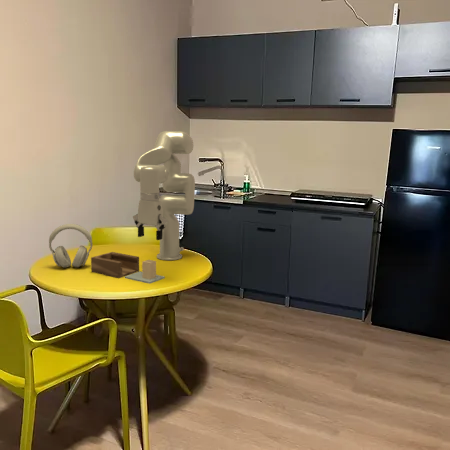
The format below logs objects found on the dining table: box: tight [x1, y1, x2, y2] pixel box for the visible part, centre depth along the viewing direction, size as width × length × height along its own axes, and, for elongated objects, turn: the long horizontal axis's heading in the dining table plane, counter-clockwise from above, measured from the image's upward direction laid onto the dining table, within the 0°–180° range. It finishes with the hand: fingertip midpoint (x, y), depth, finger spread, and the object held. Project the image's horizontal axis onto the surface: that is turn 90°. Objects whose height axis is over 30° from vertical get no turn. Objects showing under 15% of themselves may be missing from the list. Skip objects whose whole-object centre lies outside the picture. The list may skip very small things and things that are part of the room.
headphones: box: [48, 223, 93, 269], centre depth 206 cm, size 18×10×20 cm, turn 100°
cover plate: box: [124, 259, 165, 285], centre depth 194 cm, size 10×14×8 cm
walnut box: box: [90, 251, 140, 279], centre depth 202 cm, size 13×16×7 cm
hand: (150, 238), depth 190 cm, fingers open, 9 cm apart
